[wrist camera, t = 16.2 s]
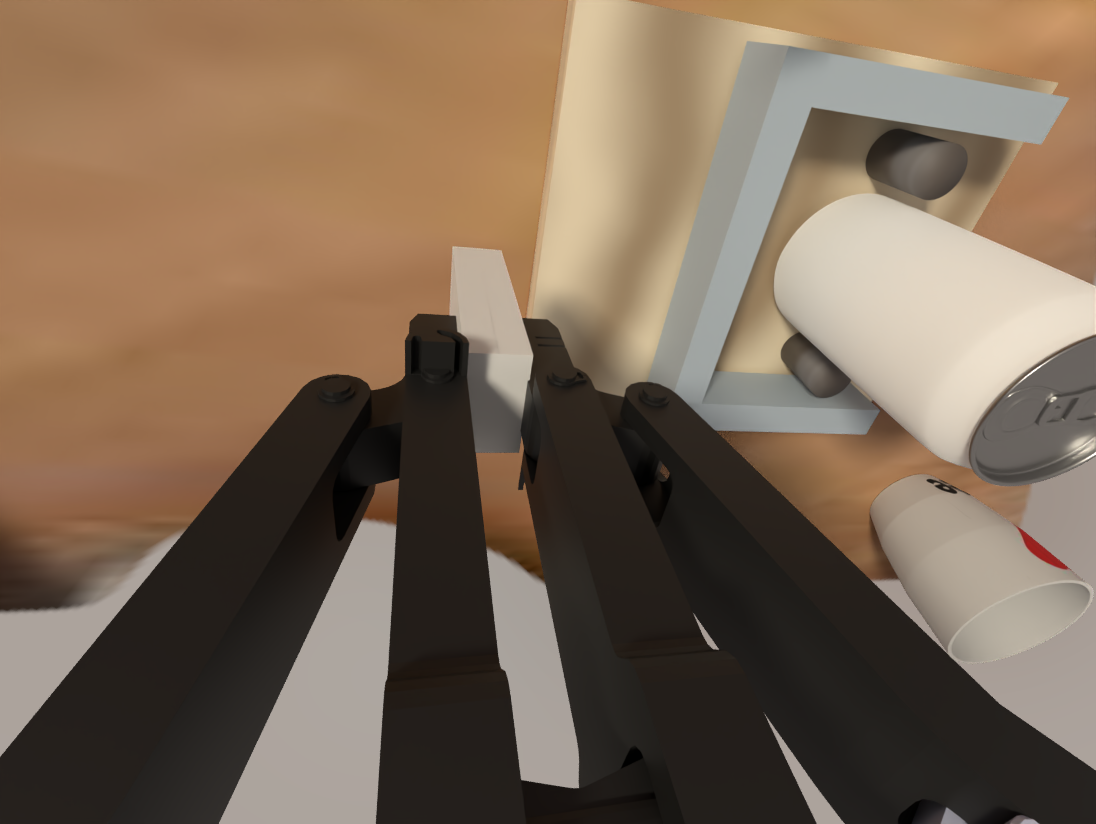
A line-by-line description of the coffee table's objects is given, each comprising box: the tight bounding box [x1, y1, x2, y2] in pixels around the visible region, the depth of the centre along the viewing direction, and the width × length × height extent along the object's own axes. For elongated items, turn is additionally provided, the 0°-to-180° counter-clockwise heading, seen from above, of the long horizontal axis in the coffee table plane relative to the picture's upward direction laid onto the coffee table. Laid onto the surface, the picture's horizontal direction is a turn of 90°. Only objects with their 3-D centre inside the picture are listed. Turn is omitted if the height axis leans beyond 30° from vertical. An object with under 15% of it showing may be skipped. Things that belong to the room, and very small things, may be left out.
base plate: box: [526, 0, 1058, 402], centre depth 24 cm, size 20×16×4 cm
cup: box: [870, 474, 1094, 663], centre depth 35 cm, size 8×8×10 cm
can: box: [774, 193, 1096, 486], centre depth 21 cm, size 6×6×12 cm
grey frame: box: [647, 41, 1069, 434], centre depth 24 cm, size 11×15×3 cm
